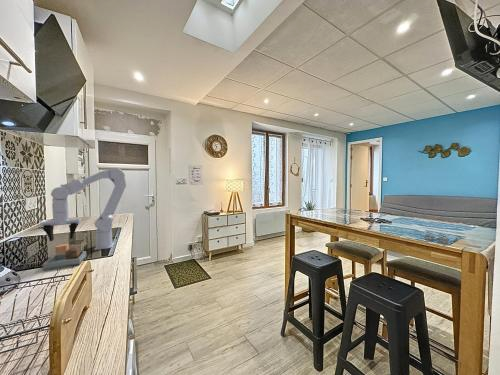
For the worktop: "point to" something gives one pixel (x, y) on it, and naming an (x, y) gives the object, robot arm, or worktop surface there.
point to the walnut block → (73, 253)
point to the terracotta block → (62, 249)
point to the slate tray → (63, 261)
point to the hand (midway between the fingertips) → (62, 239)
